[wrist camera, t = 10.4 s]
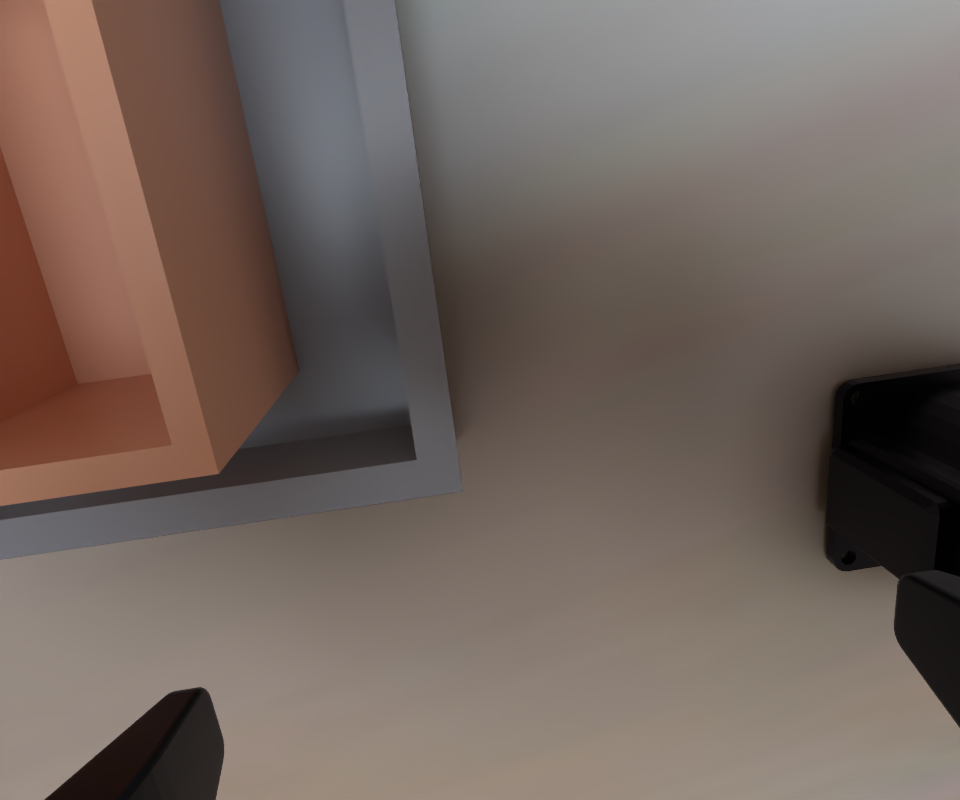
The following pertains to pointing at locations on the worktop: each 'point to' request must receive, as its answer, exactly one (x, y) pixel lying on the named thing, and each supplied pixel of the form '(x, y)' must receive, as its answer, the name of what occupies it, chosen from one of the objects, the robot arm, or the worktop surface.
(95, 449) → the box
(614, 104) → the worktop surface
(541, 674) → the worktop surface
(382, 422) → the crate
